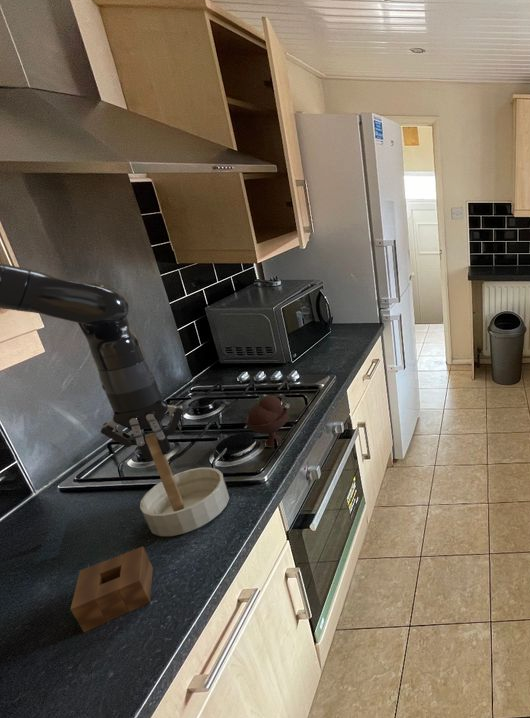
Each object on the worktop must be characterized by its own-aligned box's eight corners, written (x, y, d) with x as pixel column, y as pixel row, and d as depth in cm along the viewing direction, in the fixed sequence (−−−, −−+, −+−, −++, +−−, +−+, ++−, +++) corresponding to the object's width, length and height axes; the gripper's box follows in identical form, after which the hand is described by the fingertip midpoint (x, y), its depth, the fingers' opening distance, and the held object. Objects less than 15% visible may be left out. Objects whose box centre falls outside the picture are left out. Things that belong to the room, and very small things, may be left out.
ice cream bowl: (278, 427, 128) (268, 385, 123) (302, 438, 123) (292, 394, 118) (244, 446, 120) (231, 401, 114) (268, 458, 115) (256, 412, 109)
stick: (174, 513, 93) (144, 438, 85) (174, 508, 94) (145, 434, 86) (184, 509, 94) (156, 435, 86) (184, 504, 95) (156, 431, 88)
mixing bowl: (147, 550, 87) (137, 527, 85) (151, 506, 99) (142, 484, 96) (232, 517, 96) (225, 495, 93) (227, 479, 107) (220, 459, 105)
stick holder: (83, 632, 72) (70, 609, 70) (92, 592, 79) (79, 570, 76) (150, 602, 77) (139, 580, 75) (153, 567, 84) (143, 545, 81)
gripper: (173, 367, 88) (197, 434, 95) (85, 385, 81) (117, 458, 87) (173, 380, 83) (198, 451, 89) (78, 402, 75) (113, 478, 82)
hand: (158, 454), depth 88 cm, fingers closed on stick, 2 cm apart
